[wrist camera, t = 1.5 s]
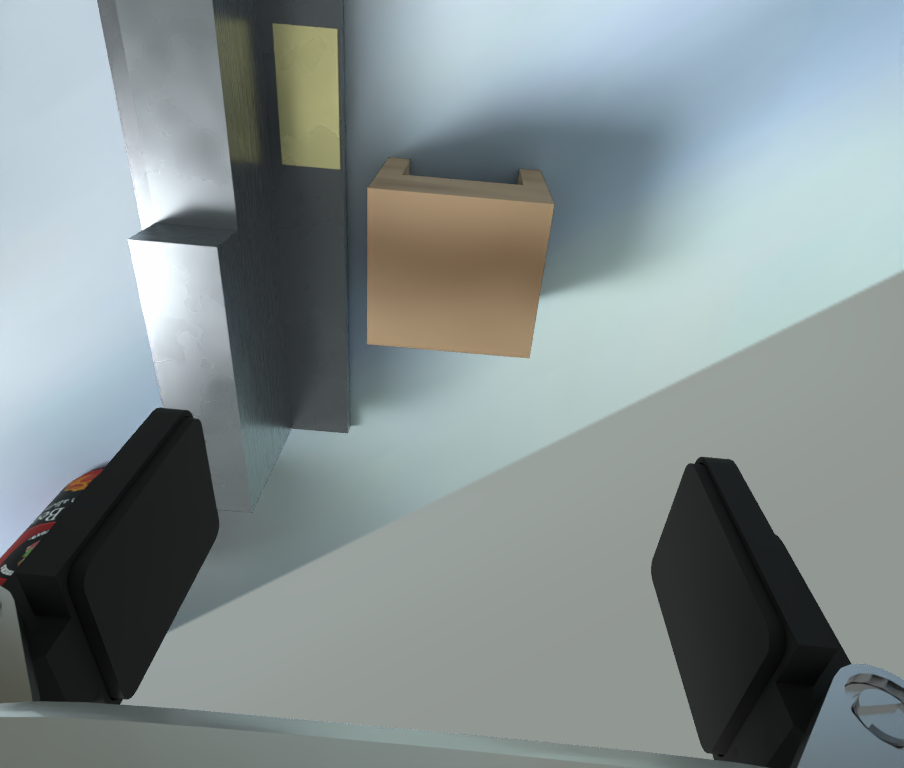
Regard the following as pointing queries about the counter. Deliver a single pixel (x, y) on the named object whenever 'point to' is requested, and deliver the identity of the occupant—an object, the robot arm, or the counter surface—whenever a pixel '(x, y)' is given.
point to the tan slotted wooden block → (455, 261)
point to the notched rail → (239, 217)
